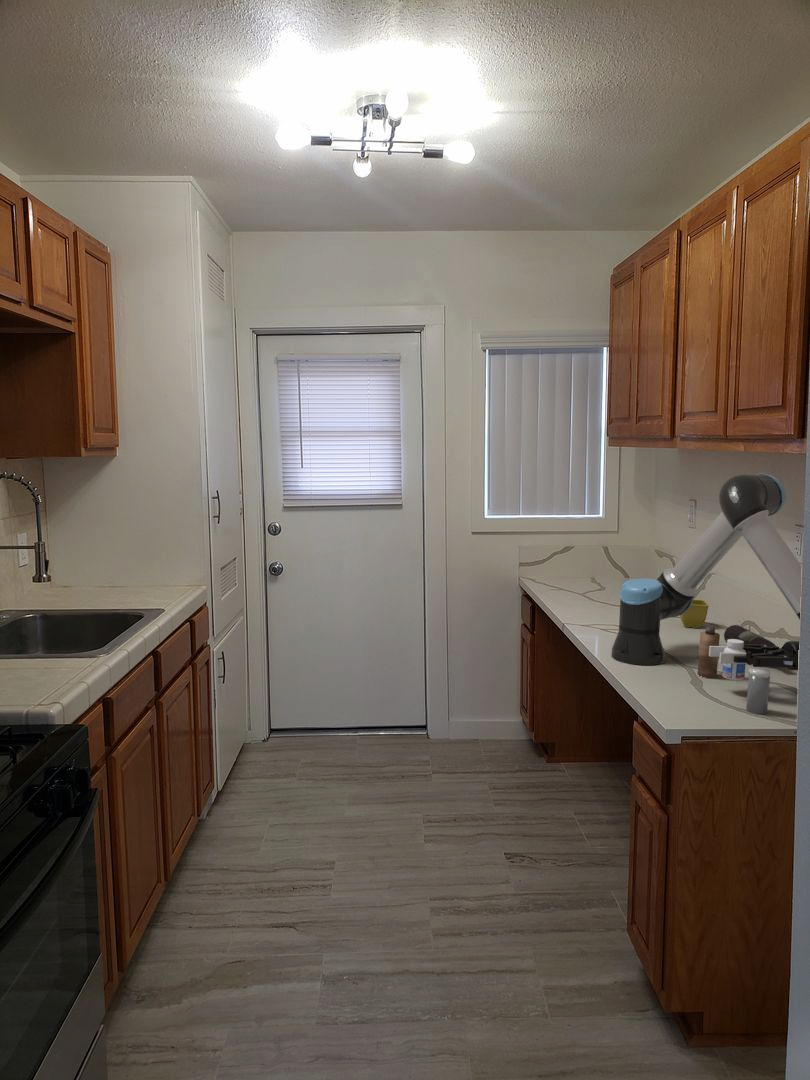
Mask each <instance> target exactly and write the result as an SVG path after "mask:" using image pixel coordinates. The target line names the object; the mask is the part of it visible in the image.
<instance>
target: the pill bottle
mask: <svg viewBox="0 0 810 1080" xmlns="http://www.w3.org/2000/svg"><path fill="white" fill-rule="evenodd" d="M726 646H728V647H727V648H725V649H724V653H746V651H745V650H744V649H743V647H744V641H742V640H737V639H728V640H727V643H726ZM746 665H747V663H746V664H722V670H721V671H722V672H721V676H722V677H723V678H725V679H727V680H730V681H743V680H744V679H745V676H746Z"/></svg>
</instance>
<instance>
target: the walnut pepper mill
mask: <svg viewBox="0 0 810 1080" xmlns="http://www.w3.org/2000/svg"><path fill="white" fill-rule="evenodd" d="M715 631H716V628H715V627H712V626H707V627H705V631H700V634H699V648H698V650H699V651H698V664H697V674H698V675H699V676H698V675H697V676H698V677H700V676H702V677H701V678H703V677H706V678H705V679H716V678H717V677H718V667H719V666H718V665H719V657H710V656H709V647H710V646H720V633H718V632H715Z"/></svg>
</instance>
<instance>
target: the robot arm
mask: <svg viewBox="0 0 810 1080" xmlns="http://www.w3.org/2000/svg"><path fill="white" fill-rule="evenodd" d="M786 498H787V497H786V490H785V487H784V485H783V483H782V482H781V481H780V479H778V478H776V477H775V476H773V475H770V474H766V473H755V474H738V475H734V476H732V477H730V478H729V479H727V480H726V481H725V482H724V483H723V485H722V486H721V488H720V490H719V495H718V501H719V505H720V506H719V507H720V508H721V512H720V513H719V514H718V516H717V517H716V518H715V519H714V520H713V521H712V522H711V524H710V525H709V526H708V528H707V529H706V530H704V532H703V533H702V534H701V535H700V537H698V539H697V540H696V541H695V542H694V543H693V544H692V546H691V547H690V548H688V549H689V550H688V551H686V553H685V554H684V555H683V556H682V557H681V558H680V559H679V561H678V562H677V563H676V564H675V565H674V566H673V567H672V568H671V567H670V568H668V567H667V568H666V569H664V570H663V571H662V573H661V574H660V575H659V576H658V577H657V578H656V579H653V578H645V577H642V578H631V579H629V580H626V581H625V582H624V583H622V585H621V590H620V595H619V597H620V598H619V599H620V600H619V603H620V604H619V621H618V622H619V623H618V631H617V632H618V633H617V635H616V637H615V640H614V642H613V644H612V648H611V658H613V659H614V660H616V661H619V662H622V663H626V664H631V665H641V666H644V665H645V666H653V665H659V663H660V664H662V663H664V661H665V651H664V648H663V647H664V646H663V644H662V640H661V636H660V627H661V621H662V620H666V619H670V618H677V617H680V615H682V614H683V613H685V612H686V611H687V610H688V609H689V608H690V607H691V605H692V603H693V600H694V598H695V597H696V595H697V593H698V590H697V587H698V585H700V584H701V582H702V581H703V580H704V579H705V578H706V576H708V575H709V573H710V572H711V571H712V570H713V569H714V568H715V567H716V565H717V564H718V563H719V562H720V561H721V560H722V559H723V558H724V557H725V556H726V555H727V553H729V551H730V550H731V549H732V548H733V547H734V546H735V545H736V543H737V542H738V541H740V539H741V538H742V537H743V538H744V540H745V541H746V543H747V544H748V545H749V547H750V549H752V551H753V553H754V555H755V556H756V557H757V558H758V561H760V563H761V565H762V566H763V567H764V569H765V570H766V572H767V573H768V575H769V576H770V578H771V579H772V581H773V582H774V584H775V586H776V587H777V588H778V589H779V591H780V592H781V594H782V595H783V597H784V598H785V600H786V602H787V603H788V604H789V606H790V607H791V609H792V610H793V612H794V613H795V615H796V616H797V617H798V619H799V620H800V597H801V566H802V565H801V563H800V561H799V560H798V559H797V557H796V556H795V554H794V553H793V552H792V550H791V548H790V547H789V546H788V544H787V543H786V541H785V540H784V539H783V537H782V535H780V533H779V531H778V530H777V529H776V527H775V526H774V525H773V523H772V521H771V520H770V519H769V516H773V515H775V514H777V513H778V512H779V511H780V510H782V508H783V507H784V505H785V503H786ZM799 641H800V640H799ZM799 641H796V640H795V641H792V640H791V641H790V640H789V641H786V642H784V644H783V646H781V648H780V646H777V645H776V646H772V647H768V644H744V647H743V649H744V650H745V651H746V653H724V649H725V648H727V647H728V646H727V645H719V646H710V647H709V656H710V657H718V664H722V665H723V664H746V665H749V666H752V667H758V668H786V669H787V670H788V671H798V650H799Z"/></svg>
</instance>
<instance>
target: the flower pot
mask: <svg viewBox="0 0 810 1080" xmlns="http://www.w3.org/2000/svg"><path fill="white" fill-rule="evenodd" d="M708 609H709V604H708V603H707V602H706V600H704V599H703V600H702V599H693V603H692V605H691V607H690V608H689V609H688V610H687V611H686V612H685V613H683V614H682V615H679V617H680V620H681V622H682V624H683V626H684V627H685V628H686V627H688V628H689V627H692V628H693V629H701V628H702V627H703V625H704V623H705V622H706V619H707V615H708Z"/></svg>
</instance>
